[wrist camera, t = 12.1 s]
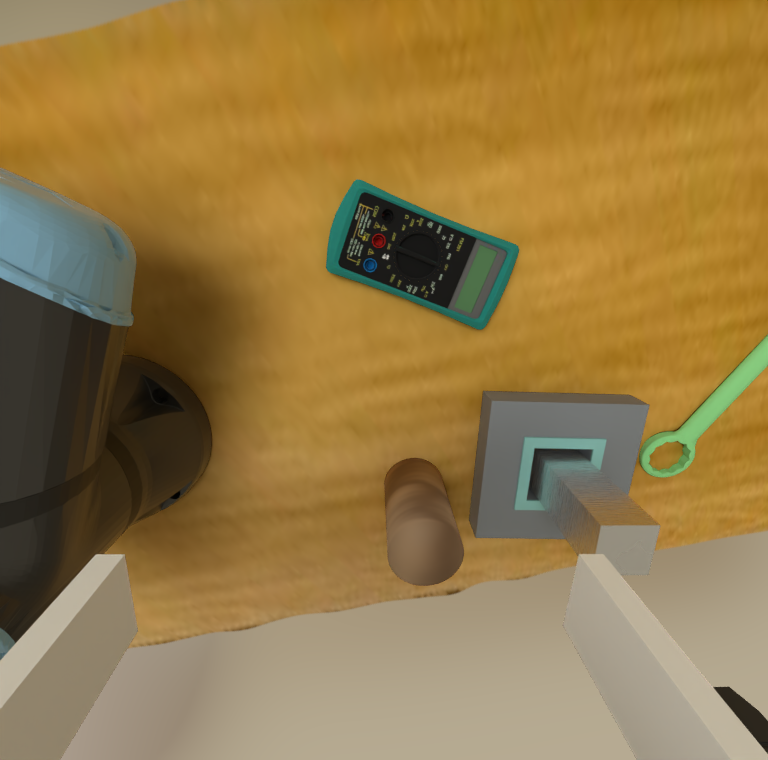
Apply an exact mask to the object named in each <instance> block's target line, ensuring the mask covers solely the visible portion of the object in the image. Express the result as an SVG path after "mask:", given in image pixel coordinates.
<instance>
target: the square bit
mask: <svg viewBox="0 0 768 760" xmlns="http://www.w3.org/2000/svg"><path fill="white" fill-rule="evenodd" d="M529 487H530V488H531V490H532V491H533V493H534V494H535V496H536V497H537V498H538V500H539V501H540V503H541V504H542V506H543V507H544V508H545V510H546V511H547V513H548V514H549V516H550V517H551V518H552V520H553V521H554V523H555V524H556V526H557V527H558V528H559V530H560V531H561V533H562V534H563V536H564V537H565V538H566V540H567V541H568V543H569V544H570V546H571V547H572V548H573V550H574V551H575V553H576V554H577V556H579V554H604V555H605V557H606V558H607V559H608V560H609V561H610V563H611V564H612V565H613V566H614V568H615V569H616V570H617V571H618V572H619V574H620V575H648V574H649V570H650V566H651V562H652V558H653V553H654V550H655V546H656V542H657V538H658V533H659V529H660V525H659V524H658V523H657V522H656V521H655V520H654V519H653V518H652V517H651V516H650V515H648V514H647V513H646V512H645V511H644V510H643V509H642V508H641V507H640V506H639V505H637V504H636V503H635V502H634V501H633V500H632V499H631V498H630V497H629V496H628V495H627V494H625V493H624V492H623V491H622V490H621V489H620V488H619V487H618V486H617V485H616V484H614V483H613V482H612V481H611V480H610V479H609V478H608V477H607V476H606V475H605V474H603V473H602V472H601V471H600V470H599V469H598V468H597V467H596V466H595V465H594V464H592V463H591V462H590V461H589V460H588V459H587V458H586V457H585V456H584V455H583V454H582V453H580V452H579V451H578V450H577V449H549V448H535V449H534V455H533V462H532V468H531V474H530V481H529Z"/></svg>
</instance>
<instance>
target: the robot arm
mask: <svg viewBox="0 0 768 760" xmlns="http://www.w3.org/2000/svg"><path fill="white" fill-rule="evenodd" d="M136 264H137V260H136V252H135V249H134V247H133V244H132V242H131V240H130V239H129V237H128V236H127V235H126V233H125V232H124V231H123V230H122V229H121V228H120V227H119V226H118V225H116V224H115V223H114V222H113V221H111V220H110V219H108V218H107V217H105V216H103V215H102V214H100V213H98V212H96V211H94V210H92V209H90V208H88V207H86V206H84V205H82V204H80V203H78V202H76V201H74V200H72V199H70V198H67V197H65V196H63V195H61V194H59V193H57V192H55V191H52V190H50V189H48V188H46V187H44V186H41V185H39V184H37V183H35V182H32V181H30V180H28V179H26V178H23V177H21V176H19V175H16V174H14V173H12V172H10V171H7V170H5V169H3V168H0V760H60V759H61V758H62V756H63V754H64V752H65V751H66V749H67V748H68V746H69V744H70V742H71V741H72V739H73V738H74V736H75V734H76V733H77V731H78V729H79V728H80V726H81V724H82V723H83V721H84V719H85V718H86V716H87V714H88V713H89V711H90V709H91V708H92V706H93V704H94V703H95V701H96V699H97V698H98V696H99V694H100V693H101V691H102V689H103V688H104V686H105V685H106V683H107V681H108V680H109V678H110V676H111V674H112V673H113V671H114V670H115V668H116V666H117V665H118V663H119V661H120V660H121V658H122V656H123V655H124V653H125V651H126V650H127V648H128V646H129V645H130V643H131V641H132V640H133V638H134V636H135V635H136V633H137V632H138V628H137V622H136V617H135V611H134V605H133V599H132V593H131V588H130V582H129V576H128V570H127V564H126V559H125V554H104V553H105V552H106V551H107V550H108V549H109V547H110V546H111V545H112V544H113V543H114V542H115V541H116V540H117V539H118V538H119V537H120V535H121V534H122V533H123V532H124V531H125V530H126V529H127V528H128V527H129V526H131V525H133V524H135V523H137V522H139V521H141V520H143V519H145V518H147V517H149V516H151V515H153V514H155V513H157V512H159V511H161V510H163V509H165V508H167V507H169V506H170V505H172V504H174V503H175V502H177V501H178V500H179V499H180V498H182V497H183V496H184V495H185V494H186V493H187V492H188V491H189V490H190V489H191V487H192V486H193V485H194V484H195V483H196V481H197V480H198V479H199V478H200V476H201V475H202V473H203V472H204V470H205V468H206V466H207V463H208V461H209V457H210V453H211V446H212V437H211V429H210V424H209V421H208V418H207V415H206V413H205V410H204V408H203V406H202V405H201V403H200V401H199V400H198V398H197V397H196V395H195V394H194V393H193V391H192V390H191V389H190V388H189V387H188V386H187V385H186V384H185V383H184V382H183V381H182V380H181V379H180V378H178V377H177V376H176V375H175V374H173V373H172V372H170V371H169V370H167V369H165V368H164V367H162V366H160V365H158V364H156V363H153V362H151V361H148V360H145V359H142V358H139V357H134V356H129V355H123V351H124V346H125V341H126V337H127V332H128V327H129V326H132V324H133V320H134V315H133V314H132V312H131V305H132V296H133V287H134V279H135V272H136ZM563 627H564V628H565V630H566V632H567V634H568V636H569V638H570V639H571V641H572V643H573V645H574V647H575V649H576V650H577V652H578V654H579V656H580V658H581V659H582V661H583V663H584V665H585V667H586V669H587V670H588V672H589V674H590V676H591V678H592V679H593V681H594V683H595V685H596V687H597V689H598V690H599V692H600V694H601V696H602V697H603V699H604V701H605V703H606V705H607V707H608V708H609V710H610V712H611V714H612V716H613V718H614V719H615V721H616V723H617V725H618V727H619V728H620V730H621V732H622V734H623V736H624V737H625V739H626V741H627V743H628V745H629V747H630V748H631V750H632V752H633V754H634V756H635V758H636V759H637V760H768V721H767V720H766V718H765V717H764V716H763V715H762V714H761V713H760V712H759V711H758V710H757V709H756V708H754V707H753V706H752V705H751V704H750V703H748V702H747V701H746V700H745V699H743V698H742V697H741V696H740V695H738V694H737V693H736V692H735V691H733V690H732V689H731V688H730V687H712V686H711V685H710V683H709V682H708V681H707V679H706V678H705V677H704V676H703V675H702V673H700V671H699V670H698V669H697V667H696V666H695V665H694V664H693V662H692V661H691V660H690V659H689V658H688V656H687V655H686V654H685V653H684V652H683V650H682V649H681V648H680V647H679V645H678V644H677V643H676V642H675V641H674V639H673V638H672V637H671V636H670V635H669V633H668V632H667V631H666V630H665V628H664V627H663V626H662V625H661V624H660V622H659V621H658V620H657V619H656V617H655V616H654V615H653V614H652V613H651V611H650V610H649V609H648V608H647V606H646V605H645V604H644V603H643V602H642V600H641V599H640V598H639V597H638V596H637V594H636V593H635V592H634V591H633V589H632V588H631V587H630V586H629V585H628V583H627V582H626V581H625V580H624V579H623V577H622V576H621V575H620V574H619V572H618V571H617V570H616V569H615V568H614V566H613V565H612V564H611V563H610V561H609V560H608V559H607V558H606V557H605V555H604V554H579V556H578V561H577V565H576V569H575V574H574V579H573V583H572V587H571V592H570V596H569V600H568V605H567V609H566V614H565V618H564V622H563Z"/></svg>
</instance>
